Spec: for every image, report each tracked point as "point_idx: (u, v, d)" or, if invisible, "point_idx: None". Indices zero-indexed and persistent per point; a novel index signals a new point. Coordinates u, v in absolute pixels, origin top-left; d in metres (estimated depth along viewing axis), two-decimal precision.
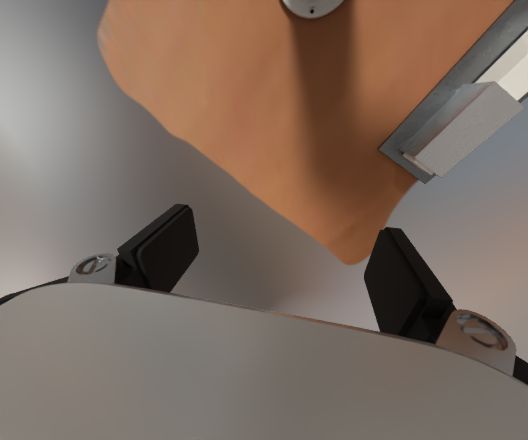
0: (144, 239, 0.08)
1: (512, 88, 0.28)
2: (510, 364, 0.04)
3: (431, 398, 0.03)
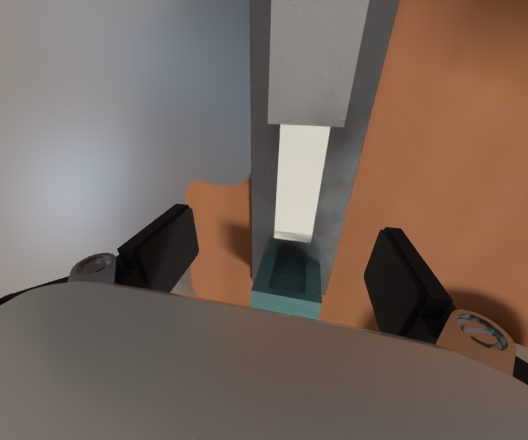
0: (144, 238, 0.08)
1: (302, 135, 0.17)
2: (510, 364, 0.04)
3: (431, 398, 0.03)
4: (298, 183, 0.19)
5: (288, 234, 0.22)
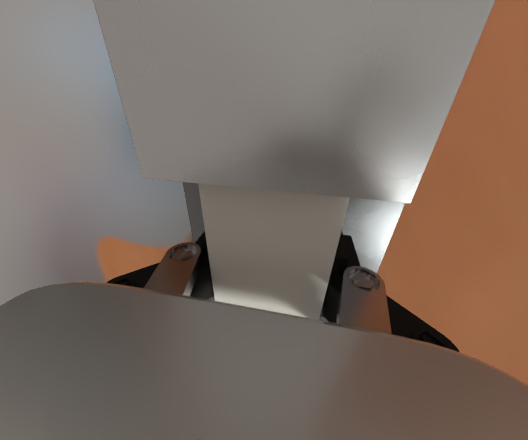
0: None
1: (264, 206, 0.06)
2: (384, 297, 0.06)
3: (431, 398, 0.03)
4: (264, 306, 0.08)
5: None
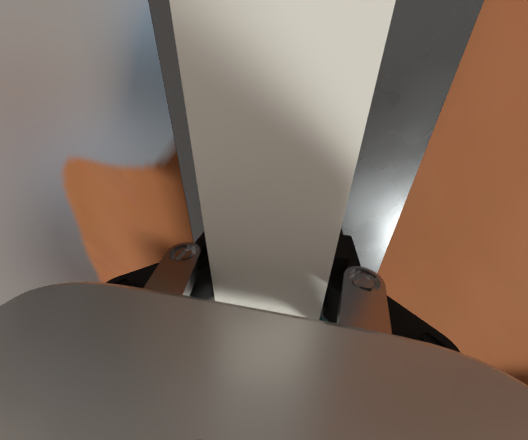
0: None
1: (263, 206, 0.06)
2: (384, 297, 0.06)
3: (431, 398, 0.03)
4: (264, 306, 0.08)
5: None
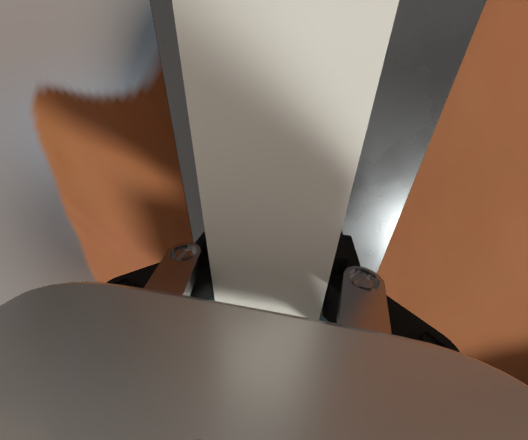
0: None
1: (264, 206, 0.06)
2: (384, 297, 0.06)
3: (431, 398, 0.03)
4: (264, 306, 0.08)
5: None
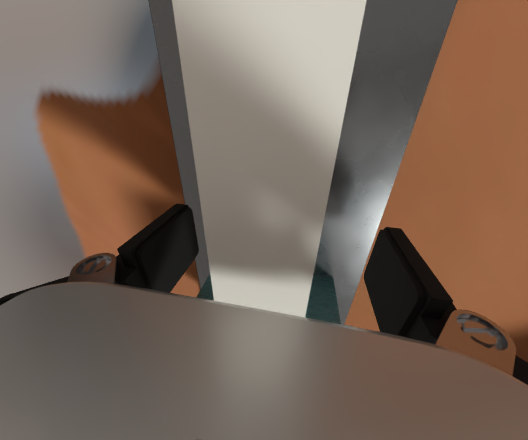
0: (144, 238, 0.08)
1: (255, 200, 0.06)
2: (510, 364, 0.04)
3: (431, 398, 0.03)
4: (257, 293, 0.08)
5: None
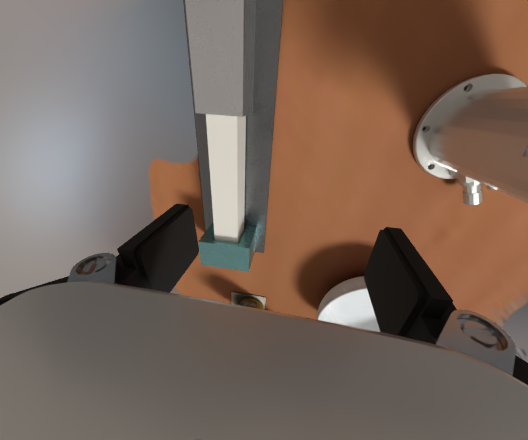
0: (144, 238, 0.08)
1: (223, 197, 0.31)
2: (510, 364, 0.04)
3: (431, 398, 0.03)
4: (225, 221, 0.33)
5: None
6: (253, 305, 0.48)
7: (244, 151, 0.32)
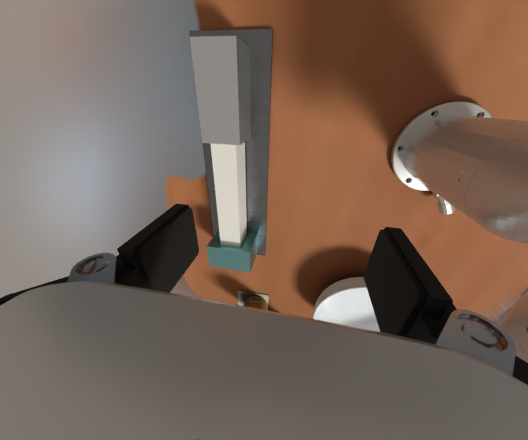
0: (144, 239, 0.08)
1: (226, 209, 0.36)
2: (510, 364, 0.04)
3: (432, 398, 0.03)
4: (228, 228, 0.39)
5: None
6: (257, 302, 0.53)
7: (244, 169, 0.37)
